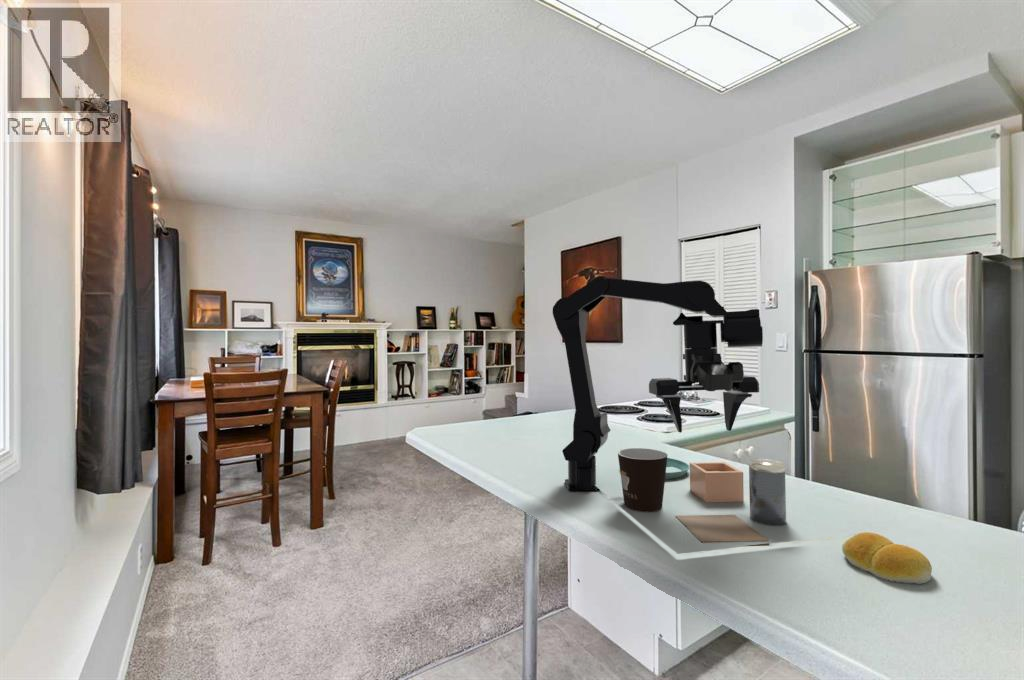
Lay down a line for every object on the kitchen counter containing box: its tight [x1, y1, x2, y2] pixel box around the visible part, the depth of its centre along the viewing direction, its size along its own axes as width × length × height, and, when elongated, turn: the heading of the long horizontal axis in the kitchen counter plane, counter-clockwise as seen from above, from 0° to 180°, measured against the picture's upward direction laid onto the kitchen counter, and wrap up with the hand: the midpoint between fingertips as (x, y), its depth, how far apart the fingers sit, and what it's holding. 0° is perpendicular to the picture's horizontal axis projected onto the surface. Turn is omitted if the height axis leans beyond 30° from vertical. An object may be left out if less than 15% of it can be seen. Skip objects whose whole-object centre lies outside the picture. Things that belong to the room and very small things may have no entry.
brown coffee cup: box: [617, 447, 668, 513], centre depth 84 cm, size 12×9×10 cm
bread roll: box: [841, 532, 933, 585], centre depth 60 cm, size 8×9×4 cm
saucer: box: [665, 457, 690, 480], centre depth 104 cm, size 15×15×3 cm
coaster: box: [675, 514, 770, 547], centre depth 72 cm, size 10×10×1 cm
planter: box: [689, 461, 745, 503], centre depth 87 cm, size 7×7×6 cm
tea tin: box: [748, 458, 787, 527], centre depth 75 cm, size 5×5×10 cm
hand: (704, 431), depth 86 cm, fingers open, 9 cm apart
